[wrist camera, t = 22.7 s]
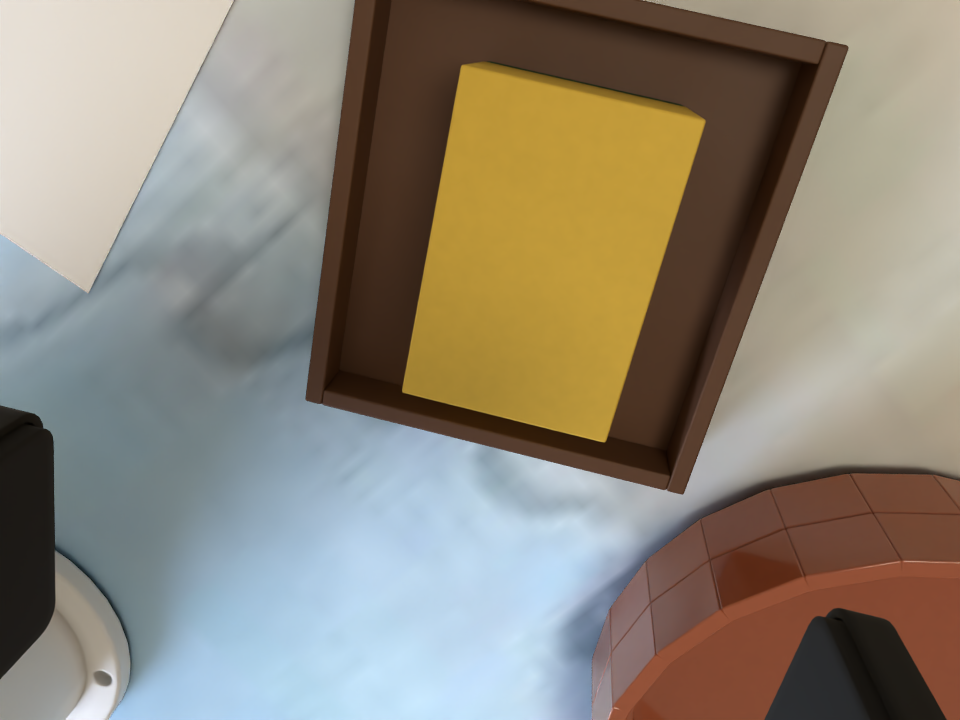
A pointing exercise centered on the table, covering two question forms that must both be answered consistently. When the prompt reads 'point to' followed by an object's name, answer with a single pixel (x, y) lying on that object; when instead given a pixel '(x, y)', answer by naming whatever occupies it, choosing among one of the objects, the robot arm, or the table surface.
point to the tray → (692, 244)
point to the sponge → (546, 245)
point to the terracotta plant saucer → (783, 596)
